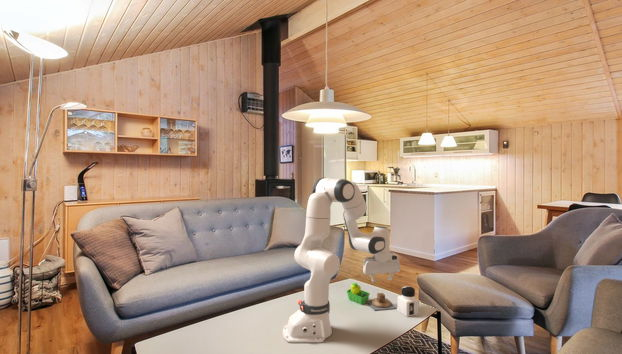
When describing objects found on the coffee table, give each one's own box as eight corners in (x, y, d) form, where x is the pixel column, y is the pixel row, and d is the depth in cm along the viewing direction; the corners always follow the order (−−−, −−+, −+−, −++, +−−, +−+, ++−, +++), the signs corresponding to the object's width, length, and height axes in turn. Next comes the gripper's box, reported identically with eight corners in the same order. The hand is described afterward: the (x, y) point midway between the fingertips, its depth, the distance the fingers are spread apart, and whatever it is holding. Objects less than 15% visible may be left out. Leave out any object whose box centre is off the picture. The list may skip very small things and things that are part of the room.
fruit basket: (370, 302, 181) (370, 282, 180) (360, 307, 175) (360, 286, 174) (354, 295, 189) (354, 276, 189) (344, 300, 183) (344, 280, 183)
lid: (375, 308, 171) (376, 298, 171) (368, 300, 181) (368, 291, 181) (393, 307, 173) (393, 297, 173) (385, 299, 183) (385, 290, 183)
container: (419, 314, 166) (419, 289, 166) (406, 317, 163) (406, 291, 163) (409, 308, 173) (409, 284, 173) (397, 310, 171) (397, 286, 170)
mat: (374, 310, 170) (374, 309, 170) (366, 301, 182) (366, 300, 182) (396, 308, 173) (396, 307, 173) (386, 299, 184) (386, 298, 184)
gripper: (365, 259, 171) (365, 285, 172) (401, 256, 175) (401, 281, 176) (361, 255, 177) (361, 280, 178) (396, 252, 181) (396, 277, 182)
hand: (381, 281), depth 177 cm, fingers open, 8 cm apart
